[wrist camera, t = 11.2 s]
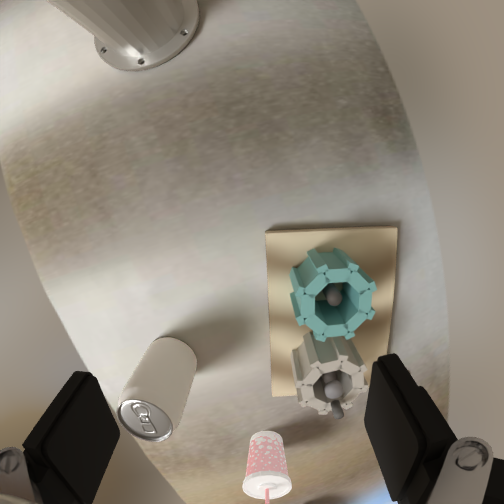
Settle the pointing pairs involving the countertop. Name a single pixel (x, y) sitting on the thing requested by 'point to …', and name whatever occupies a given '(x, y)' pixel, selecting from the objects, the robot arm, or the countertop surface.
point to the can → (157, 390)
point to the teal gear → (321, 312)
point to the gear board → (328, 292)
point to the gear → (323, 361)
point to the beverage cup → (266, 467)
